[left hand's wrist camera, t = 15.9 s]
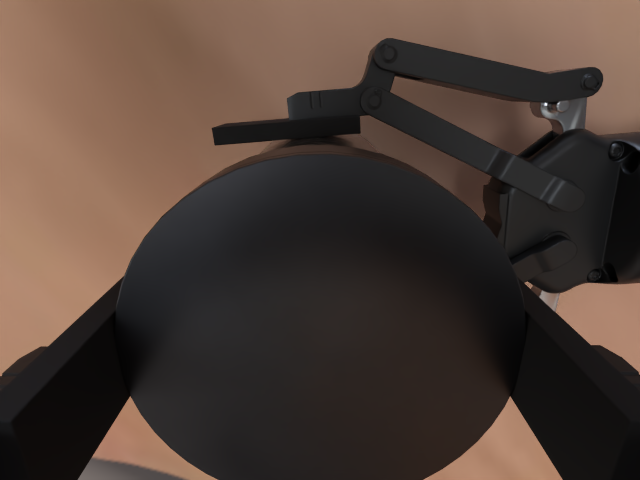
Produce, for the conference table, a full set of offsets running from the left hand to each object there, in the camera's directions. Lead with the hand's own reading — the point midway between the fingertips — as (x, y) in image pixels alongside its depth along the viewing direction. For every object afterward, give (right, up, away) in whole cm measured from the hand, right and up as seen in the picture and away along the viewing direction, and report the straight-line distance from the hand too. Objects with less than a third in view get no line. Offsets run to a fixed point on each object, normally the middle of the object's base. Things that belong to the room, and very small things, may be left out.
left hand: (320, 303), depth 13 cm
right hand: (-4, +2, +7) cm, 9 cm away
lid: (0, -1, -3) cm, 3 cm away
